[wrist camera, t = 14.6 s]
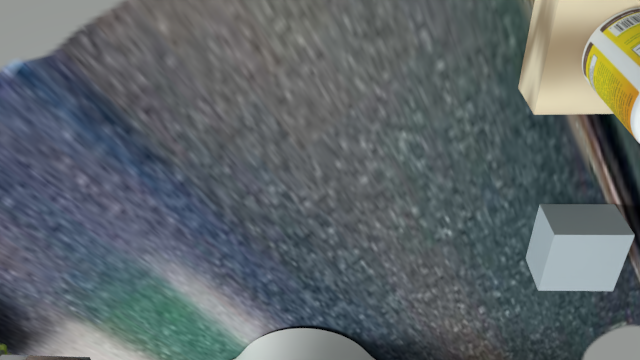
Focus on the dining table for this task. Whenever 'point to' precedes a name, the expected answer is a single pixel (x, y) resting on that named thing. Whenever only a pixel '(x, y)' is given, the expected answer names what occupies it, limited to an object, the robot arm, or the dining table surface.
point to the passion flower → (4, 350)
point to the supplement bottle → (617, 66)
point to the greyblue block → (578, 247)
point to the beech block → (564, 55)
